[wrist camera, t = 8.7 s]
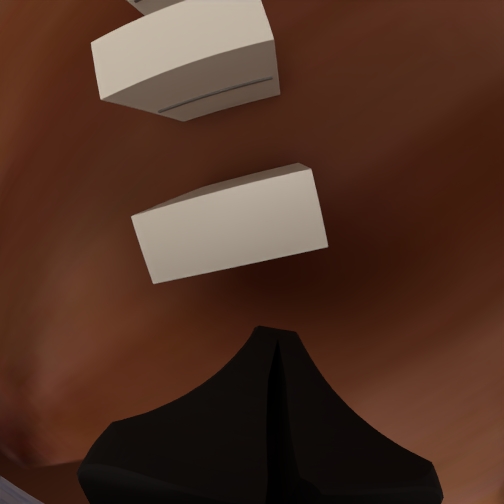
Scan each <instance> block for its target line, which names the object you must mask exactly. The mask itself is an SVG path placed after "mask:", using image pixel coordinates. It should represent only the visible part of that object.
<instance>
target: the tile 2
mask: <svg viewBox="0 0 504 504" xmlns="http://www.w3.org/2000/svg"><path fill="white" fill-rule="evenodd" d="M91 46H92V53H93V59H94V65H95V71H96V77H97V83H98V88H99V93H100V98H101V100H104V101H108V102H112V103H116V104H120V105H125V106H129V107H132V108H136V109H140V110H144V111H148V112H151V113H155V114H159V115H162V116H166V117H169V118H173V119H176V120H179V121H183V122H185V121H188V120H191V119H194V118H197V117H200V116H203V115H207V114H210V113H213V112H217V111H220V110H223V109H227V108H230V107H234V106H238V105H241V104H245V103H249V102H253V101H257V100H261V99H265V98H269V97H273V96H277V95H280V87H279V77H278V68H277V60H276V51H275V43H274V38H273V35H272V31H271V28H270V25H269V22H268V19H267V17H266V14H265V11H264V8H263V5H262V2H261V0H185V1H182V2H179V3H177V4H174V5H171V6H169V7H166V8H164V9H161V10H159V11H156V12H154V13H151V14H149V15H147V16H144V17H142V18H140V19H137V20H135V21H133V22H131V23H129V24H127V25H124V26H122V27H120V28H118V29H116V30H114V31H112V32H110V33H108V34H106V35H104V36H102V37H101V38H99V39H97V40H95V41H93V42H91Z"/></svg>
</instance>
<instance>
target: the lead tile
mask: <svg viewBox="0 0 504 504" xmlns="http://www.w3.org/2000/svg"><path fill="white" fill-rule="evenodd" d="M131 218H132V221H133V225H134V228H135V231H136V234H137V237H138V241H139V244H140V247H141V250H142V253H143V256H144V259H145V262H146V265H147V267H148V270H149V273H150V276H151V279H152V282H153V284H155V283H160V282H165V281H170V280H175V279H180V278H185V277H189V276H194V275H199V274H204V273H209V272H214V271H218V270H223V269H228V268H233V267H237V266H242V265H247V264H251V263H256V262H261V261H266V260H270V259H275V258H280V257H284V256H289V255H293V254H298V253H303V252H307V251H312V250H316V249H321V248H326V247H328V243H327V238H326V233H325V228H324V224H323V219H322V214H321V209H320V205H319V200H318V196H317V191H316V187H315V183H314V178H313V174H312V170H311V168H309V167H307V166H305V165H303V164H300V163H295V164H291V165H287V166H282V167H278V168H274V169H270V170H266V171H261V172H257V173H253V174H249V175H245V176H241V177H238V178H234V179H230V180H226V181H222V182H219V183H215V184H211V185H208V186H204V187H201V188H198V189H196V190H193V191H191V192H188V193H186V194H183V195H181V196H178V197H176V198H173V199H171V200H168V201H166V202H164V203H161V204H159V205H156V206H154V207H152V208H149V209H147V210H145V211H142V212H140V213H138V214H135V215H133V216H131Z"/></svg>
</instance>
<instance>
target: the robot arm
mask: <svg viewBox="0 0 504 504" xmlns="http://www.w3.org/2000/svg"><path fill="white" fill-rule="evenodd" d="M77 476H78V480H79V483H80V485H81V487H82V489H83V491H84V493H85V495H86V497H87V499H88V501H89V503H90V504H441V502H442V500H443V498H444V497H443V492H442V489H441V485H440V482H439V479H438V476H437V473H436V471H435V468H434V466H433V464H432V462H430V461H428V460H426V459H424V458H422V457H420V456H418V455H416V454H414V453H412V452H410V451H409V450H407V449H405V448H403V447H401V446H399V445H398V444H396V443H395V442H393V441H392V440H390V439H389V438H387V437H386V436H384V435H383V434H381V433H380V432H378V431H377V430H376V429H374V428H373V427H372V426H370V425H369V424H368V423H367V422H366V421H364V420H363V419H362V418H361V417H360V416H358V415H357V414H356V413H355V412H354V411H353V410H352V409H351V408H350V407H349V406H348V405H347V404H346V403H345V402H344V401H343V400H342V399H341V398H340V397H339V396H338V395H337V394H336V392H335V391H334V390H333V389H332V388H331V386H330V385H329V384H328V383H327V381H326V380H325V379H324V377H323V376H322V374H321V373H320V372H319V370H318V368H317V367H316V365H315V364H314V362H313V361H312V359H311V358H310V356H309V354H308V352H307V351H306V349H305V347H304V345H303V344H302V342H301V340H300V338H299V336H298V334H297V333H296V332H294V331H287V330H281V329H275V328H269V327H264V326H257V327H255V328H254V331H253V333H252V334H251V336H250V338H249V339H248V340H247V342H246V343H245V344H244V346H243V347H242V348H241V349H240V350H239V351H238V353H237V354H236V355H235V356H234V357H233V358H232V359H231V360H230V361H229V362H228V363H227V364H226V365H225V366H224V367H223V368H222V369H221V370H220V371H218V372H217V373H216V374H215V375H214V376H212V377H211V378H210V379H208V380H207V381H206V382H204V383H203V384H201V385H200V386H198V387H197V388H195V389H194V390H192V391H190V392H189V393H187V394H186V395H184V396H182V397H180V398H178V399H176V400H174V401H172V402H170V403H168V404H166V405H163V406H161V407H159V408H157V409H154V410H152V411H149V412H147V413H144V414H141V415H137V416H134V417H130V418H127V419H123V420H119V421H115V422H112V423H111V424H110V425H109V426H108V427H107V429H106V430H105V431H104V432H103V433H102V434H101V435H100V437H99V438H98V439H97V440H96V441H95V443H94V444H93V445H92V447H91V448H90V450H89V452H88V453H87V455H86V457H85V458H84V460H83V462H82V463H81V465H80V467H79V469H78V472H77ZM0 504H44V503H42V502H40V501H39V500H37V499H35V498H34V497H32V496H30V495H29V494H27V493H25V492H24V491H22V490H21V489H19V488H18V487H16V486H14V485H13V484H12V483H10V482H8V481H7V480H6V479H4V478H3V477H1V476H0Z"/></svg>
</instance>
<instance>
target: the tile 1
mask: <svg viewBox="0 0 504 504" xmlns="http://www.w3.org/2000/svg"><path fill="white" fill-rule="evenodd" d="M127 1H128V2H129V3H130V4H132V5H133V6H134V7H135V8H136V9H138V10H139V11H140V12H141V13H142V14H144V15H145V16H147V15H149V14H151V13H154V12H156V11H159V10H161V9H164V8H166V7H169V6H171V5H174V4H177V3H179V2H182V1H185V0H127Z"/></svg>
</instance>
